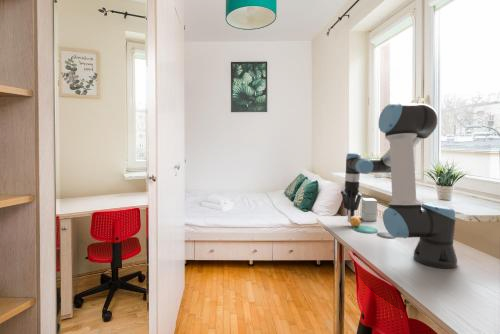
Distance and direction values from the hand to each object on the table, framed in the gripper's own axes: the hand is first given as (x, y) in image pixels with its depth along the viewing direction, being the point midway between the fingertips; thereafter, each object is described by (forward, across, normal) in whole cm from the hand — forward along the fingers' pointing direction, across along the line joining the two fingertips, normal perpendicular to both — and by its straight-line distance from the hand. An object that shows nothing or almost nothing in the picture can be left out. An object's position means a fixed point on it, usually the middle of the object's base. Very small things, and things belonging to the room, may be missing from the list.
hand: (350, 221), depth 168 cm
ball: (0, -3, 0) cm, 3 cm away
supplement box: (+3, 0, -20) cm, 20 cm away
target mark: (+2, -10, 0) cm, 10 cm away
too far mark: (+2, -22, 0) cm, 22 cm away
